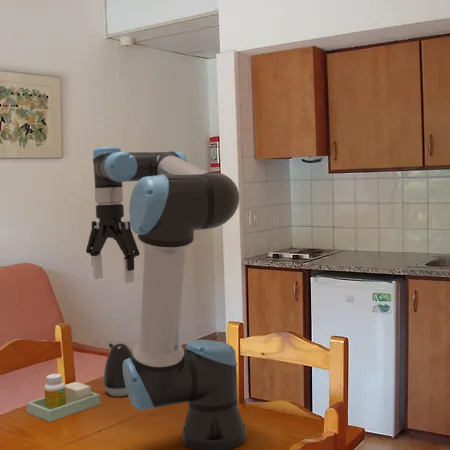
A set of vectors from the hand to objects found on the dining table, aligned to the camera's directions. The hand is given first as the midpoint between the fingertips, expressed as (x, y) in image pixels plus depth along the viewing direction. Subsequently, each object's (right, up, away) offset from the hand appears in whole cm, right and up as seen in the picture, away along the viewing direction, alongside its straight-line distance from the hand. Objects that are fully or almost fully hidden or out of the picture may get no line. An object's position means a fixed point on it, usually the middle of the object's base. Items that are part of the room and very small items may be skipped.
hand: (113, 280), depth 175 cm
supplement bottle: (-15, -35, -4) cm, 38 cm away
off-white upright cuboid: (-10, -34, +1) cm, 36 cm away
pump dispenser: (+1, -34, +10) cm, 36 cm away
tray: (-13, -35, -2) cm, 38 cm away
